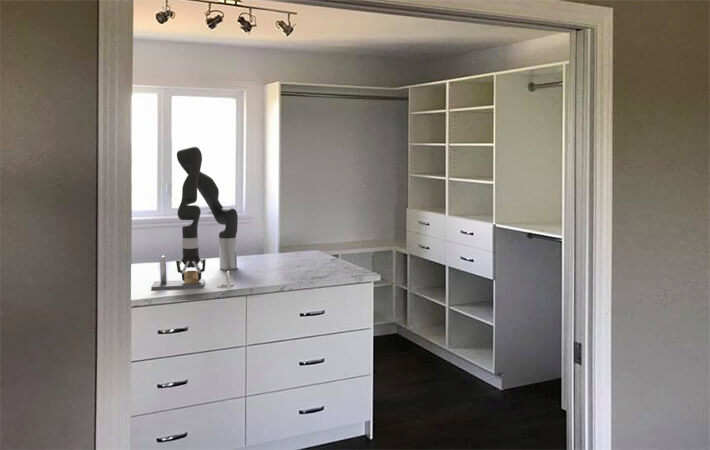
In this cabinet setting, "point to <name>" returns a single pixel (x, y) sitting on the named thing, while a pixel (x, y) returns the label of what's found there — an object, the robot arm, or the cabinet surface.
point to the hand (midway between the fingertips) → (191, 280)
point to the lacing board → (177, 285)
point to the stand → (227, 282)
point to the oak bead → (191, 277)
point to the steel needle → (163, 270)
